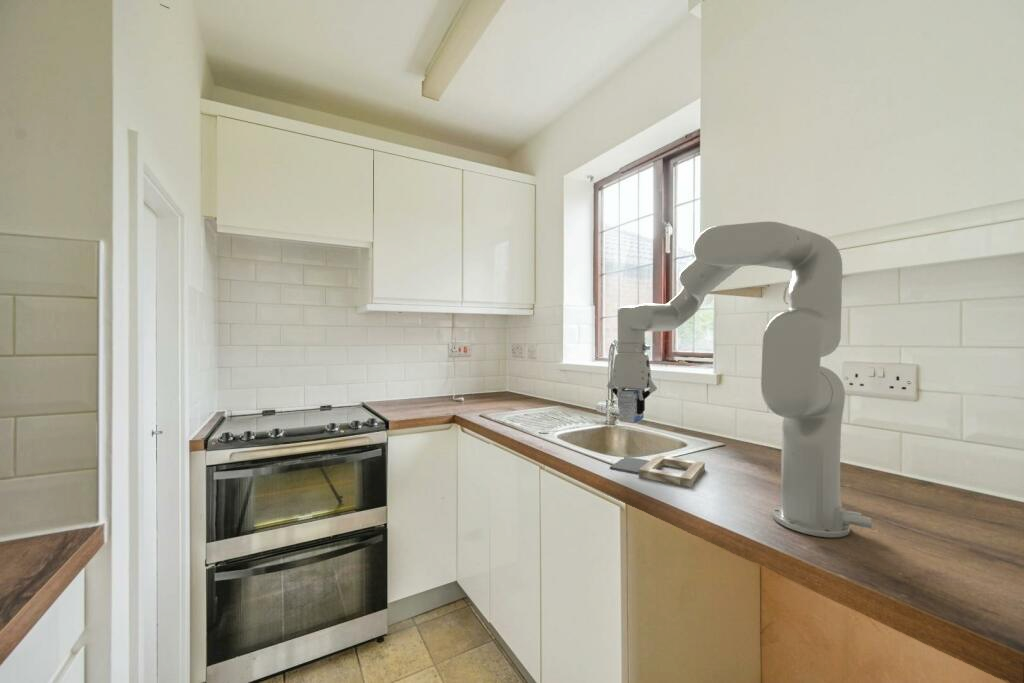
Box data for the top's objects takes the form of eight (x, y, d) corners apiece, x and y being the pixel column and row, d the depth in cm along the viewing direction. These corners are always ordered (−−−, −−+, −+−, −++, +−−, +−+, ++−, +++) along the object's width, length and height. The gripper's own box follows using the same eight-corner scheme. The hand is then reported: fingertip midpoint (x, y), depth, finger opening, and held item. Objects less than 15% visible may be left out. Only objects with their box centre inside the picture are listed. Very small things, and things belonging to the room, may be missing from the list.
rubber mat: (651, 462, 123) (651, 460, 123) (637, 474, 113) (637, 472, 113) (625, 458, 127) (625, 456, 127) (609, 468, 118) (609, 466, 118)
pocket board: (704, 469, 116) (704, 462, 116) (690, 487, 103) (690, 479, 103) (657, 461, 124) (657, 454, 124) (638, 476, 111) (638, 469, 111)
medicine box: (633, 423, 115) (633, 392, 115) (618, 421, 118) (618, 391, 118) (643, 418, 122) (643, 389, 121) (629, 417, 124) (629, 388, 124)
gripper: (665, 349, 117) (665, 413, 118) (608, 348, 127) (608, 407, 128) (656, 350, 111) (657, 418, 112) (598, 349, 121) (598, 411, 122)
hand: (631, 411), depth 120 cm, fingers closed on medicine box, 4 cm apart
